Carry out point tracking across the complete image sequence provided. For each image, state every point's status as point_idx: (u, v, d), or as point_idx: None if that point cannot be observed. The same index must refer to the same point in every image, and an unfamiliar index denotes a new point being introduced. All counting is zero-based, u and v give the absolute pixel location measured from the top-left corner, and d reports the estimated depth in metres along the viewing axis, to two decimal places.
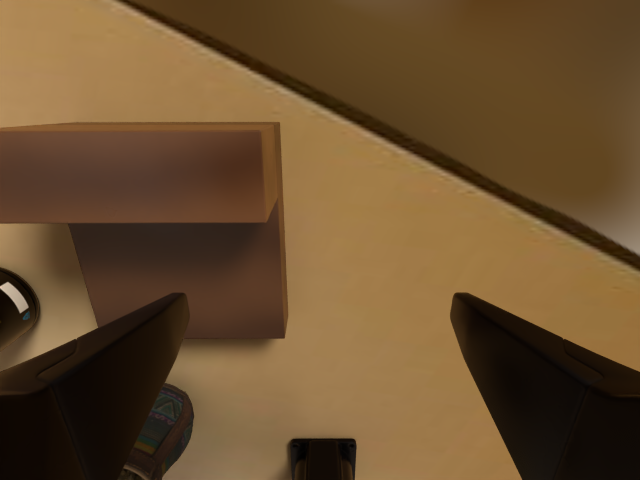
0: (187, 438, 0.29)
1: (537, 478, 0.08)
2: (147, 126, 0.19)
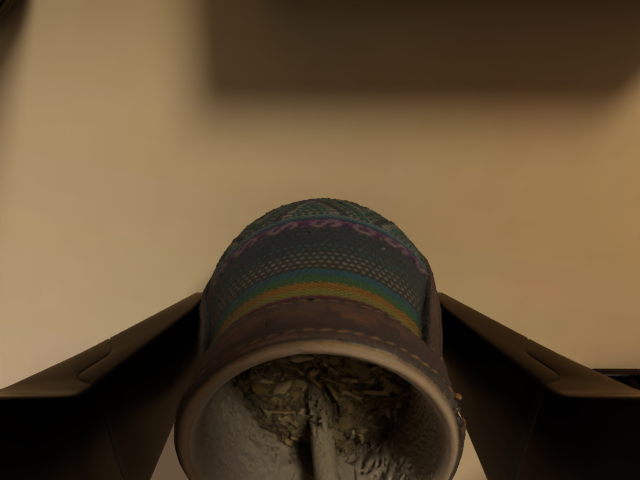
0: None
1: (500, 478, 0.08)
2: None
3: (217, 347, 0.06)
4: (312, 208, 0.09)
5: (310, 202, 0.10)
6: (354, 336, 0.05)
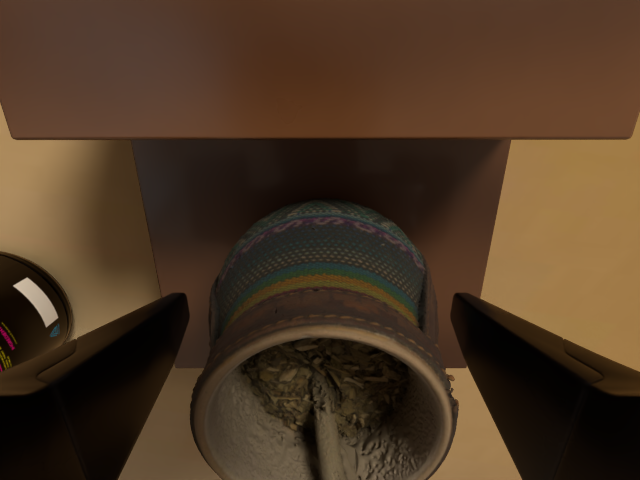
0: None
1: (537, 478, 0.08)
2: None
3: (230, 334, 0.07)
4: (315, 207, 0.10)
5: (313, 201, 0.10)
6: (356, 322, 0.06)
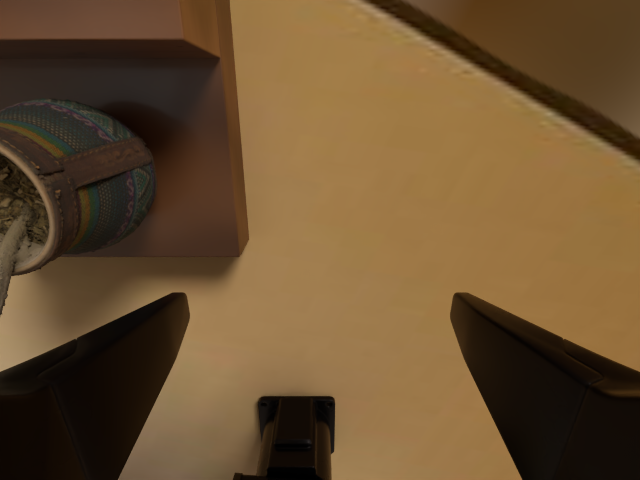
0: (140, 191, 0.16)
1: (537, 478, 0.08)
2: None
3: None
4: (37, 99, 0.15)
5: None
6: None
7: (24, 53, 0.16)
